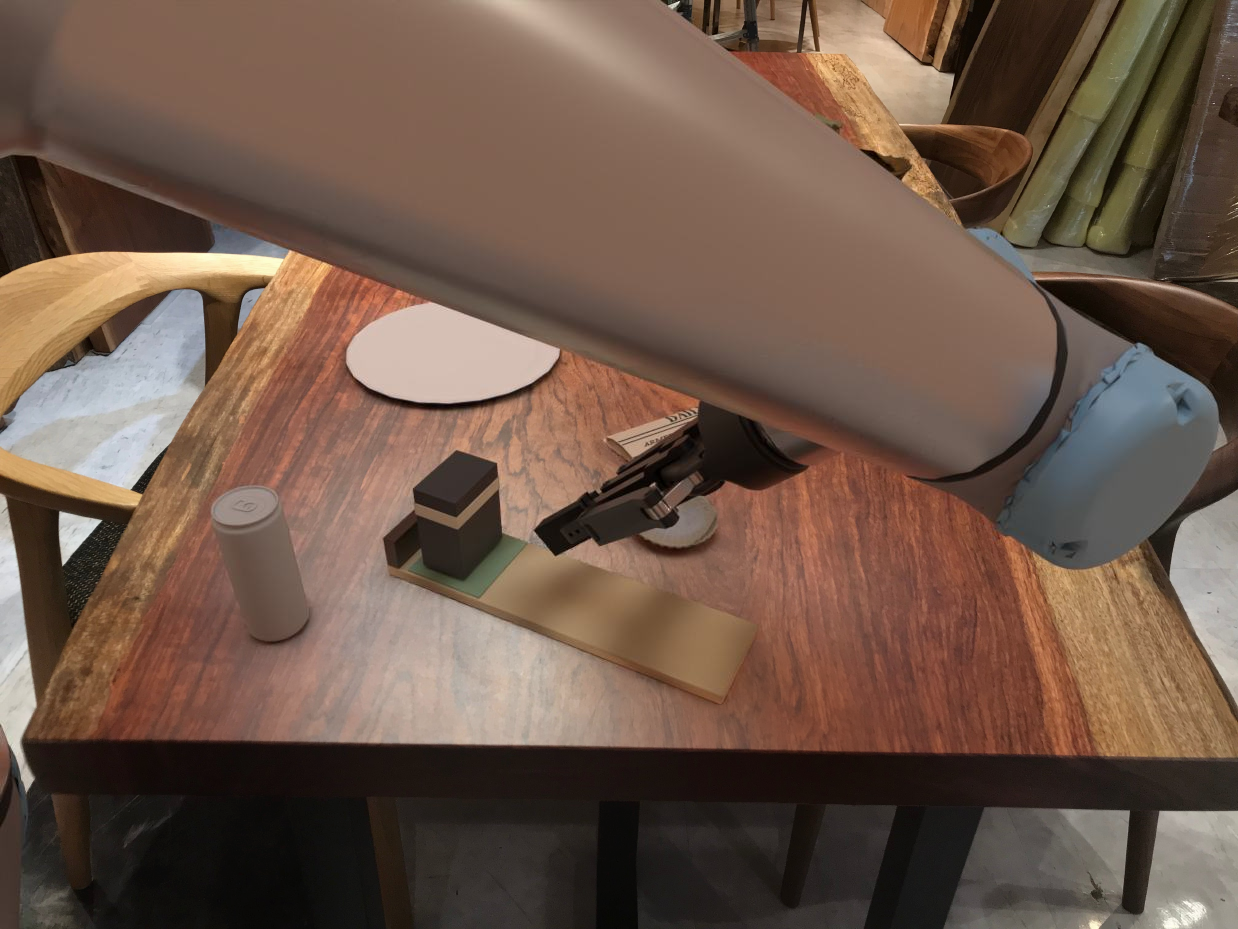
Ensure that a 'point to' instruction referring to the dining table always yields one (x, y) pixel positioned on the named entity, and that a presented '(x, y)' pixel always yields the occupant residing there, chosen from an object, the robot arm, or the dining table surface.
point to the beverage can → (260, 561)
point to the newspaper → (648, 434)
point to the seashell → (687, 525)
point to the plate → (444, 357)
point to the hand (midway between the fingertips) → (549, 537)
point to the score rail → (590, 610)
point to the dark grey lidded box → (458, 513)
